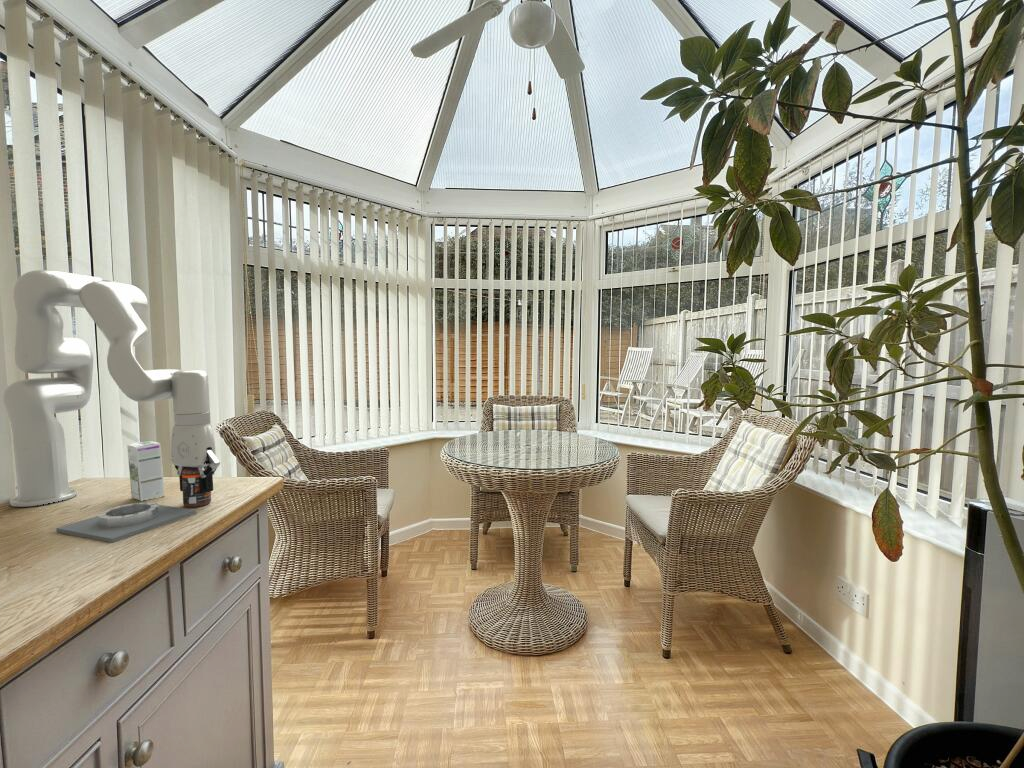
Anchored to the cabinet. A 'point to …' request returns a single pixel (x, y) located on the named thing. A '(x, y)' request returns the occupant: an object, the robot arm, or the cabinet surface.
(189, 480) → the supplement bottle
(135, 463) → the syrup box
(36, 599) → the cabinet surface
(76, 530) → the rubber mat
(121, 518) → the ring collar
